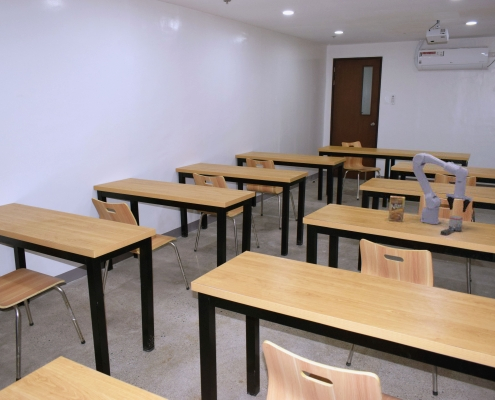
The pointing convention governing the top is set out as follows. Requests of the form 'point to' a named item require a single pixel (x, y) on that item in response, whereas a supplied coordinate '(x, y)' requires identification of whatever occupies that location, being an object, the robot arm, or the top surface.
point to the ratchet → (450, 230)
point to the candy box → (396, 208)
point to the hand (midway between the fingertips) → (457, 210)
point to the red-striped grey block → (455, 221)
